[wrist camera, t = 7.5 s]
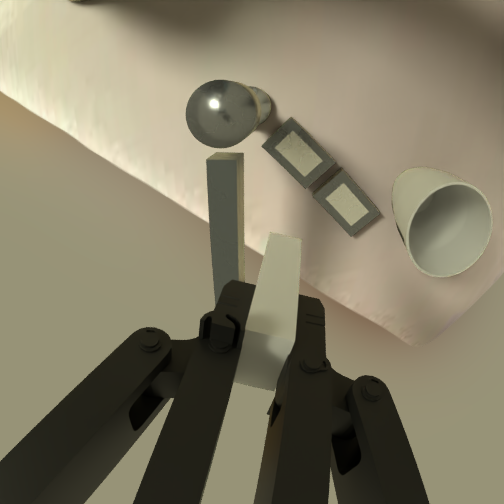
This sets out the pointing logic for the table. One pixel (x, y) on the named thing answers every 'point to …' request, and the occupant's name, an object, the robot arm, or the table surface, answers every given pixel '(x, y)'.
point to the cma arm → (224, 168)
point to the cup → (441, 220)
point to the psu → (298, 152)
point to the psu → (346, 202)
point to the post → (263, 103)
